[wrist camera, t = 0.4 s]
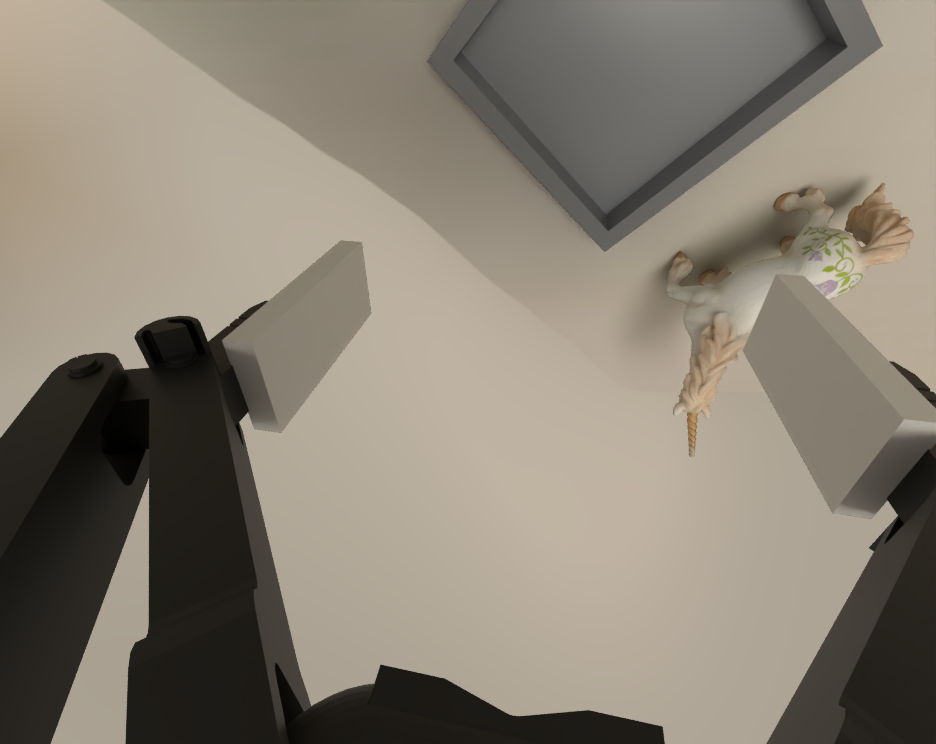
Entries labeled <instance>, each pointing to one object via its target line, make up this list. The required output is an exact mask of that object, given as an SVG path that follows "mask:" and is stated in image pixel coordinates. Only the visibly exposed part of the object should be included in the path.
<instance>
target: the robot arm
mask: <svg viewBox="0 0 936 744" xmlns="http://www.w3.org/2000/svg"><path fill="white" fill-rule="evenodd" d="M370 314H371V307H370V300H369V292H368V285H367V277H366V270H365V262H364V255H363V247H362V242H354V241H340V242H339V243H337V244H336V245H335V246H334V247H332V248H331V249H330V250H329V251H328V252H327V253H325V254H324V255H323V256H322V257H321V258H319V259H318V260H317V261H316V262H315V263H313V265H311V266H310V267H309V268H308V269H306V270H305V271H304V272H303V273H301V274H300V275H299V276H298V277H297V278H296V279H294V280H293V281H292V282H291V283H290V284H288V285H287V286H286V287H285V288H284V289H282V290H281V291H280V292H279V293H278V294H276V295H275V296H274V297H273V298H272V299H271V300H269V301H264V302H262V303H260V304H257V305H255V306H253V307H251V308H250V309H248V310H247V311H246V312H244V313H243V314H242V315H241V316H239V319H236V320H234V321H233V322H232V323H231V324H230V326H227V327H226V328H225V329H223V330H222V331H221V332H220V333H218V334H217V335H216V336H215V337H214V338H212V339H211V340H210V341H209V342H208V341H207V339H206V336H205V333H204V331H203V329H202V326H201V323H200V322H199V320H198V319H196V318H193V317H190V316H176V317H168V318H164V319H161V320H157V321H154V322H152V323H150V324H148V325H146V326H144V327H143V328H141V329H140V330H139V331H137V333H136V335H135V340H136V342H137V344H138V346H139V348H140V350H141V352H142V353H143V356H144V358H145V360H146V362H147V364H148V366H149V368H141V369H129V370H124V368H123V366H122V364H121V363H120V361H119V359H118V358H117V357H116V356H115V355H113V354H110V353H94V354H89V355H86V354H85V355H81V356H78V358H76V357H75V358H73V359H70V360H69V361H68V362H66V363H64V364H63V365H60V366H59V367H58V368H56V369H55V370H54V371H53V372H52V373H51V374H50V375H49V377H48V378H47V379H46V381H45V382H44V383H43V384H42V386H41V387H40V388H39V390H38V391H37V392H36V393H35V395H34V396H33V397H32V398H31V400H30V401H29V402H28V404H27V405H26V406H25V407H24V409H23V410H22V411H21V412H20V414H19V415H18V416H17V418H16V419H15V420H14V422H13V423H12V424H11V425H10V427H9V428H8V429H7V431H6V432H5V433H4V434H3V436H2V437H1V438H0V744H51V741H52V738H53V735H54V733H55V730H56V727H57V725H58V722H59V719H60V717H61V714H62V711H63V708H64V706H65V703H66V700H67V697H68V695H69V692H70V690H71V687H72V684H73V681H74V679H75V676H76V673H77V671H78V667H79V665H80V662H81V660H82V657H83V654H84V652H85V649H86V646H87V644H88V641H89V638H90V635H91V633H92V630H93V627H94V625H95V622H96V619H97V616H98V614H99V611H100V608H101V605H102V603H103V600H104V598H105V595H106V592H107V589H108V587H109V584H110V581H111V578H112V576H113V573H114V570H115V568H116V565H117V562H118V560H119V557H120V554H121V552H122V549H123V546H124V543H125V541H126V538H127V535H128V532H129V530H130V527H131V524H132V522H133V519H134V516H135V513H136V511H137V508H138V506H139V503H140V500H141V497H142V495H143V492H144V489H145V487H146V484H147V481H148V479H149V628H148V634H147V637H146V638H144V639H142V640H140V641H138V642H135V644H134V646H133V648H132V650H131V653H130V660H129V667H128V692H127V720H126V744H665V742H664V734H663V727H662V726H658V725H652V724H648V723H644V722H639V721H635V720H630V719H626V718H620V717H616V716H612V715H607V714H603V713H598V712H594V711H589V710H587V711H575V712H564V713H553V714H541V715H531V716H512V715H509V714H507V713H505V712H503V711H501V710H500V709H498V708H496V707H494V706H492V705H491V704H489V703H487V702H485V701H484V700H482V699H480V698H478V697H477V696H475V695H473V694H471V693H469V692H467V691H466V690H464V689H462V688H460V687H458V686H457V685H455V684H453V683H452V682H450V681H448V680H446V679H444V678H439V677H435V676H430V675H425V674H421V673H416V672H412V671H407V670H403V669H398V668H393V667H389V666H384V665H380V669H379V672H378V675H377V678H376V681H375V684H368V685H362V686H358V687H354V688H350V689H346V690H344V691H342V692H339V693H336V694H334V695H332V696H330V697H327V698H326V699H324V700H322V701H320V702H318V703H316V704H314V705H313V706H312V707H311V704H310V701H309V698H308V694H307V691H306V688H305V685H304V682H303V679H302V676H301V674H300V670H299V666H298V662H297V658H296V654H295V650H294V646H293V642H292V638H291V633H290V629H289V625H288V621H287V616H286V612H285V608H284V604H283V599H282V596H281V591H280V587H279V582H278V579H277V574H276V570H275V566H274V561H273V557H272V553H271V549H270V545H269V540H268V536H267V532H266V528H265V523H264V519H263V516H262V511H261V506H260V502H259V498H258V494H257V490H256V486H255V481H254V477H253V473H252V469H251V464H250V460H249V456H248V452H247V447H246V443H245V440H244V435H243V431H242V429H241V426H240V423H239V421H240V420H241V419H242V418H243V417H244V416H245V415H246V414H247V413H249V415H250V418H251V421H252V424H253V427H254V429H257V430H265V431H271V432H278V433H281V432H282V431H283V430H284V428H285V427H286V426H287V424H288V423H289V422H290V420H291V419H292V418H293V416H294V415H295V414H296V412H297V411H298V410H299V409H300V407H301V406H302V405H303V403H304V402H305V400H306V399H307V398H308V397H309V395H310V394H311V393H312V391H313V390H314V389H315V387H316V386H317V385H318V383H319V382H320V381H321V379H322V378H323V377H324V375H325V374H326V373H327V371H328V370H329V369H330V367H331V366H332V365H333V363H334V362H335V361H336V359H337V358H338V357H339V355H340V354H341V353H342V351H343V350H344V349H345V347H346V346H347V345H348V344H349V342H350V341H351V340H352V338H353V337H354V336H355V334H356V333H357V332H358V330H359V329H360V328H361V326H362V325H363V324H364V322H365V321H366V320H367V318H368V317H369V316H370ZM743 352H744V354H745V355H746V357H747V359H748V361H749V363H750V365H751V366H752V368H753V370H754V372H755V374H756V375H757V377H758V379H759V381H760V383H761V385H762V386H763V388H764V390H765V392H766V394H767V395H768V397H769V399H770V401H771V403H772V404H773V406H774V408H775V410H776V412H777V413H778V415H779V417H780V419H781V421H782V423H783V424H784V426H785V428H786V429H787V432H788V433H789V435H790V437H791V439H792V441H793V443H794V444H795V446H796V448H797V450H798V452H799V453H800V455H801V457H802V459H803V461H804V462H805V464H806V466H807V468H808V470H809V472H810V473H811V475H812V477H813V479H814V481H815V482H816V484H817V486H818V488H819V490H820V491H821V493H822V495H823V497H824V499H825V501H826V502H827V504H828V506H829V508H830V509H831V511H832V513H834V514H841V515H847V516H854V517H861V518H868V519H872V518H873V517H874V515H875V514H876V513H877V512H878V511H879V509H880V508H881V507H882V506H883V505H884V504H885V502H886V501H887V500H888V501H889V503H890V504H891V506H892V507H893V508H894V510H895V512H896V513H897V514H898V516H897V517H896V519H895V520H894V521H893V522H892V523H891V524H890V525H889V526H888V527H887V529H886V530H885V531H884V532H883V533H882V534H881V535H880V536H879V537H878V539H877V540H876V541H875V542H874V543H873V544H872V545H871V546H870V547H869V548H870V549H871V550H873V551H874V553H873V555H872V557H871V558H870V560H869V562H868V563H867V565H866V567H865V569H864V571H863V573H862V574H861V576H860V578H859V580H858V581H857V583H856V585H855V587H854V589H853V590H852V592H851V594H850V596H849V597H848V599H847V601H846V603H845V605H844V606H843V608H842V610H841V612H840V614H839V615H838V617H837V619H836V621H835V622H834V624H833V626H832V628H831V630H830V631H829V633H828V635H827V637H826V638H825V640H824V642H823V644H822V646H821V647H820V649H819V651H818V653H817V655H816V657H815V658H814V660H813V662H812V664H811V665H810V667H809V669H808V671H807V673H806V674H805V676H804V678H803V680H802V681H801V683H800V685H799V687H798V689H797V690H796V692H795V694H794V696H793V697H792V699H791V701H790V703H789V705H788V706H787V708H786V710H785V712H784V713H783V715H782V717H781V719H780V721H779V723H778V724H777V726H776V728H775V730H774V731H773V733H772V735H771V737H770V738H769V740H768V742H767V744H936V394H935V393H934V392H930V388H929V387H928V386H927V385H926V384H925V383H923V382H922V381H921V380H920V379H919V378H918V377H917V376H916V375H915V374H913V373H912V372H910V371H908V370H907V369H905V368H903V367H901V366H900V365H898V364H896V363H895V362H891V361H888V360H887V359H886V358H885V357H884V356H883V355H882V354H881V353H880V352H879V351H878V350H877V349H876V348H875V347H874V346H873V345H872V344H871V343H870V342H869V341H868V340H867V339H866V338H865V337H864V336H863V335H862V334H861V333H860V332H859V331H858V330H857V329H856V328H855V327H854V326H853V325H852V324H851V323H850V322H849V321H848V320H847V319H846V318H845V317H844V316H843V315H842V314H841V313H840V312H839V311H838V310H837V309H836V308H835V307H834V306H833V305H832V304H831V303H830V302H829V301H828V300H827V299H826V298H825V297H824V296H823V295H822V294H821V293H820V292H819V291H818V290H817V289H816V288H815V287H814V286H813V285H812V283H811V282H810V281H809V280H808V279H807V278H806V277H805V276H799V275H786V274H776V275H775V277H774V280H773V282H772V284H771V287H770V289H769V291H768V294H767V296H766V298H765V301H764V303H763V305H762V307H761V310H760V312H759V314H758V317H757V319H756V321H755V324H754V326H753V328H752V331H751V333H750V335H749V338H748V340H747V342H746V344H745V347H744V349H743Z"/></svg>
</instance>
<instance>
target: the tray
mask: <svg viewBox="0 0 936 744" xmlns="http://www.w3.org/2000/svg"><path fill="white" fill-rule="evenodd" d="M882 46H883V45H882V43H881V41H880V39H879V36H878V34H877V32H876V30H875V28H874V26H873V24H872V22H871V20H870V17H869V15H868V13H867V11H866V9H865V7H864V5H863V3H862V1H861V0H469V2H468V3H467V4H466V6H465V7H464V9H463V10H462V12H461V13H460V15H459V16H458V17H457V19H456V20H455V22H454V23H453V25H452V26H451V27H450V29H449V30H448V32H447V33H446V35H445V36H444V38H443V39H442V40H441V42H440V43H439V45H438V46H437V48H436V49H435V50H434V52H433V53H432V55H431V56H430V58H429V59H428V61H427V62H428V63H429V64H430V65H431V66H432V68H433V69H434V70H435V71H436V72H437V73H438V74H439V75H440V76H441V77H442V78H443V79H444V80H445V81H446V83H447V84H448V85H449V86H450V87H451V88H452V89H453V90H454V91H455V92H456V93H457V94H458V95H459V96H460V98H461V99H462V100H463V101H464V102H465V103H466V104H467V105H468V106H469V107H470V108H471V109H472V110H473V111H474V113H475V114H476V115H477V116H478V117H479V118H480V119H481V120H482V121H483V122H484V123H485V124H486V125H487V126H488V128H489V129H490V130H491V131H492V132H493V133H494V134H495V135H496V136H497V137H498V138H499V139H500V140H501V141H502V143H503V144H504V145H505V146H506V147H507V148H508V149H509V150H510V151H511V152H512V153H513V154H514V155H515V156H516V158H517V159H518V160H519V161H520V162H521V163H522V164H523V165H524V166H525V167H526V168H527V169H528V170H529V171H530V173H531V174H532V175H533V176H534V177H535V178H536V179H537V180H538V181H539V182H540V183H541V184H542V185H543V186H544V187H545V189H546V190H547V191H548V192H549V193H550V194H551V195H552V196H553V197H554V198H555V199H556V200H557V201H558V202H559V204H560V205H561V206H562V207H563V208H564V209H565V210H566V211H567V212H568V213H569V214H570V215H571V216H572V217H573V219H574V220H575V221H576V222H577V223H578V224H579V225H580V226H581V227H582V228H583V229H584V230H585V231H586V232H587V234H588V235H589V236H590V237H591V238H592V239H593V240H594V241H595V242H596V243H597V244H598V245H599V246H600V247H601V249H602V250H603V251H604V252H605V251H607V250H608V249H609V248H611V247H612V246H613V245H615V244H616V243H617V242H619V241H620V240H622V239H623V238H624V237H626V236H627V235H628V234H630V233H631V232H632V231H634V230H635V229H636V228H638V227H639V226H640V225H642V224H643V223H644V222H646V221H647V220H648V219H650V218H651V217H653V216H654V215H655V214H657V213H658V212H659V211H661V210H662V209H663V208H665V207H666V206H667V205H669V204H670V203H671V202H673V201H674V200H675V199H677V198H678V197H680V196H681V195H682V194H684V193H685V192H686V191H688V190H689V189H690V188H692V187H693V186H694V185H696V184H697V183H698V182H700V181H701V180H702V179H704V178H705V177H707V176H708V175H709V174H711V173H712V172H713V171H715V170H716V169H717V168H719V167H720V166H721V165H723V164H724V163H725V162H727V161H728V160H729V159H731V158H732V157H733V156H735V155H736V154H738V153H739V152H740V151H742V150H743V149H744V148H746V147H747V146H748V145H750V144H751V143H752V142H754V141H755V140H756V139H758V138H759V137H760V136H762V135H763V134H765V133H766V132H767V131H769V130H770V129H771V128H773V127H774V126H775V125H777V124H778V123H779V122H781V121H782V120H783V119H785V118H786V117H787V116H789V115H790V114H792V113H793V112H794V111H796V110H797V109H798V108H800V107H801V106H802V105H804V104H805V103H806V102H808V101H809V100H810V99H812V98H813V97H814V96H816V95H817V94H818V93H820V92H821V91H823V90H824V89H825V88H827V87H828V86H829V85H831V84H832V83H833V82H835V81H836V80H837V79H839V78H840V77H841V76H843V75H844V74H845V73H847V72H848V71H850V70H851V69H852V68H854V67H855V66H856V65H858V64H859V63H860V62H862V61H863V60H864V59H866V58H867V57H868V56H870V55H871V54H872V53H874V52H875V51H876V50H878V49H879V48H881V47H882Z"/></svg>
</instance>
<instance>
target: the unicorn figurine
mask: <svg viewBox="0 0 936 744" xmlns="http://www.w3.org/2000/svg"><path fill="white" fill-rule="evenodd" d="M884 189H885V183H882V184H881V185H880V186H879V187H878V188H877V189H876V190H875V191H874V192H873V193H872V194H871V195H870V196H868V197H867V198H866V199H865V200H864V202H863V203H862V205H858V206H855V207H854V208H853V209H852V210H851V211H850V212H849V215H848V220H847V222H846V227H845V231H846V232H845V231H842V230H839V229H833V228H829V227H828V222H829V220H830V218H831V216H832V215H833V213H834V210H833V208H831V207H830V206H828V205H826V204H824V203H823V202H824V201H825V194H824V193H823V191H822V189H820V188H815V189H808V190H807V192H806V193H805V196H803V197H800V196H799V195H798V194H794V193H787V194H784V195H782V196H780V197H779V198H778V199H777V201H776V203H775V205H774V206H775V209H776V210H777V211H787V212H790V211H793V210H796V209H805V210H807V211H808V212H809V213H810V214H811V217H810V220H809V221H808V222H807V223H806V224H805V225H804V227H803V228H802V230H801V232H800V234H799V235H798V236H797V238H794V237H787V238H784V239H783V240H782V242H781V252H782V254H783V255H781V256H779V257H776V258H772V259H767V260H762V261H758V262H755V263H752V264H749V265H747V266H744V267H742V268H740V269H738V270H737V271H735V272H734V273H731V272H729V271H728V268H727V267H723V269H722V270H721V271H720V273H719V274H718V275H717V274H716V273H715V272H714V271H712V270H710V271H707V272H705V273H703V274H702V276H701V277H700V279H699V282H700V284H701V285H703V286H685V287H682V286H680V285H679V282H680V280H682V279H684V278H685V277H686V276H687V275H688V274H689V273H690V272H691V271H692V267H693V264H692V263H691V261H690V259H688V258H687V257H686V256H685V255H684V254H683V253H682V252H680V253H679V254H678V256H677V257H676V258H675V259H674V261H673V267H672V268H671V269H670V271H669V281H668V284H667V286H666V293H667V295H668V296H669V297H671V298H674V299H677V300H679V301H682V302H684V303H685V304H686V305H687V306H686V309H685V311H684V324H685V327H686V329H687V331H688V333H689V335H690V337H691V341H692V347H691V358H690V373H688V374H687V375H686V378H685V380H684V382H683V384H684V387H683V389H682V390H681V393H680V395H679V398H680V399H679V402H678V403H677V404H676V405H675V406H674V410H673V414H674V416H676V415H678V414H679V413H680V412H681V411H684V412H687V416H688V418H687V423H688V436H689V438H688V440H689V456H690V457H694V452H695V441H696V438H695V436H696V428H697V426H696V423H697V415H698V413H700V412H702V413H703V414H704V416H705V418H706V419H709V418H710V416H711V410H710V406H711V404H712V401H713V400H714V398H715V396H716V389H717V384H718V383H719V381H720V380H721V378H722V375H723V373H724V372H725V371H726V368H727V365H729V364H732V363H733V362H735V361H736V360H737V359H738V356H737V352H738V351H739V350H741V349H743V348H744V347H745V344H746V342H747V340H748V338H749V335H750V333H751V331H752V328H753V326H754V324H755V321H756V319H757V317H758V314H759V312H760V310H761V307H762V305H763V303H764V301H765V298H766V296H767V294H768V291H769V289H770V287H771V284H772V282H773V280H774V277H775V275H776V274H786V275H799V276H805V277H806V278H807V279H808V280H809V281H810V282H811V283H812V285H813V286H814V287H815V288H816V289H817V290H818V291H819V292H820V293H821V294H822V295H823V296H824V297H825V298H826V299H827V300H830V299H833V298H835V297H837V296H840V295H841V294H843V293H845V292H847V291H848V290H850V289H852V288H853V287H854V286H856V285H857V284H858V283H860V281H861V280H862V279H863V278H864V276H865V274H866V271H867V268H868V266H870V265H875V264H883V263H890V262H895V261H898V260H900V259H902V258H903V257H904V256H905V255H906V254H907V252H908V251H909V249H910V241H909V240H911V239H912V238H913V237H914V232H913V230H911V229H910V228H909V227H908V226H906V224H907V223H908V222H909V218H908V217H903V218H901V210H897V209H892V203H887V204H884V203H885V196H884V195H883V192H884ZM847 232H850V233H853V236H852V235H851V234H849V233H847ZM857 241H862V242H863V243H865V245H866V246H864V247H861V246H860V245H859V244H858V242H857Z"/></svg>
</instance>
